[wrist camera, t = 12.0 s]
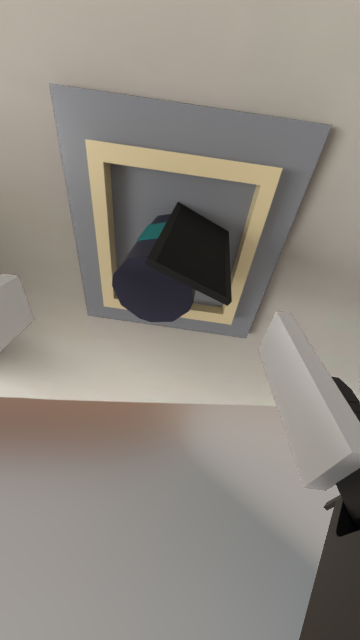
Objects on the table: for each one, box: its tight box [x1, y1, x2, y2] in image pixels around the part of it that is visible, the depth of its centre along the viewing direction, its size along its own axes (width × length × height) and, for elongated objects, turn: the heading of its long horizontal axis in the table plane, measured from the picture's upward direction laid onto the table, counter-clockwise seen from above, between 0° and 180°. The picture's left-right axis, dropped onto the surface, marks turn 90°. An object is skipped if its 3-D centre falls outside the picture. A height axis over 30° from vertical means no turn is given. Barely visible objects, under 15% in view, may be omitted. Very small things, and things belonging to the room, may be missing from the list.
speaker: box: [112, 202, 232, 322], centre depth 17 cm, size 8×6×10 cm
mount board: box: [49, 83, 332, 338], centre depth 21 cm, size 20×20×2 cm
